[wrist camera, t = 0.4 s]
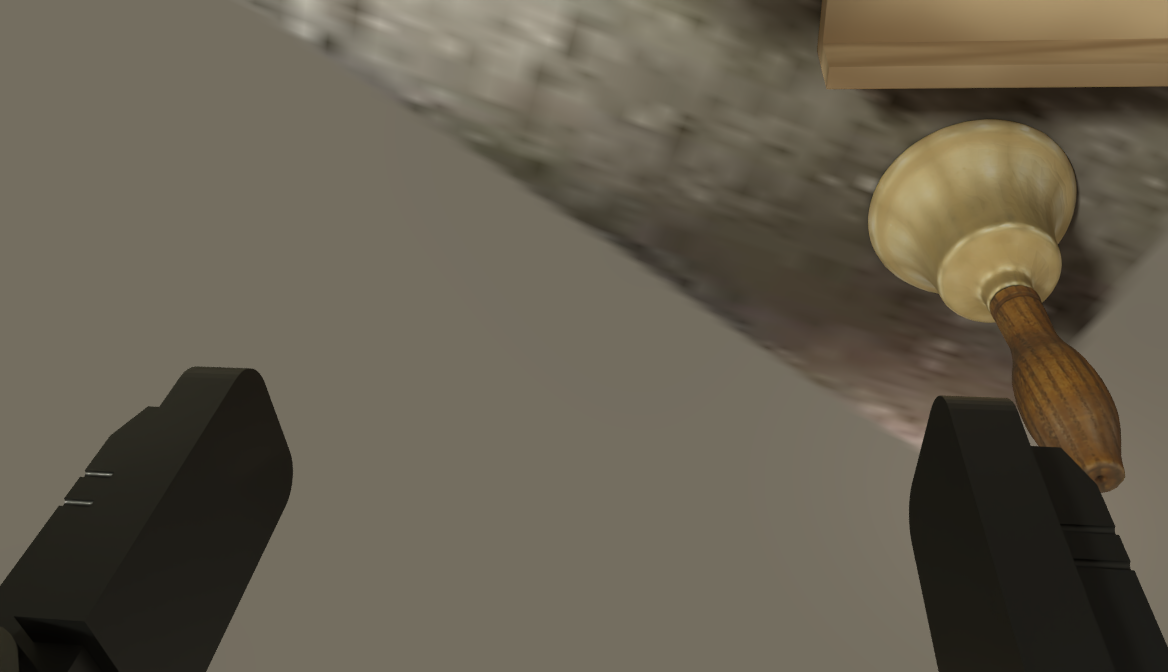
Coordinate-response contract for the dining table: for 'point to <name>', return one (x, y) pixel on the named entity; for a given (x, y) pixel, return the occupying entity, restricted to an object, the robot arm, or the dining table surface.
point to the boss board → (993, 43)
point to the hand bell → (1001, 267)
